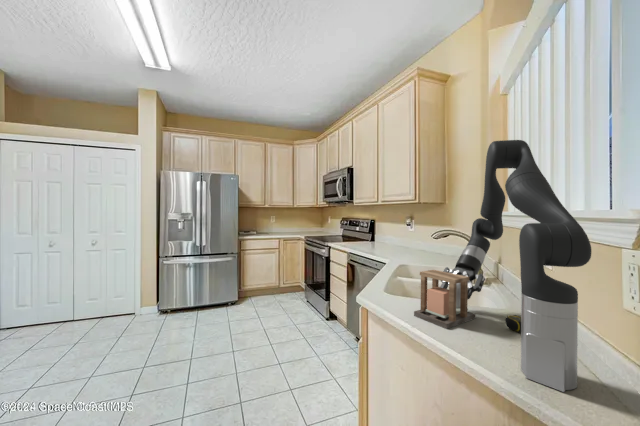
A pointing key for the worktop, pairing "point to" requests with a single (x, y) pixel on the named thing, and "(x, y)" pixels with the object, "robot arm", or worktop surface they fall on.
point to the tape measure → (514, 323)
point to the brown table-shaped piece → (453, 317)
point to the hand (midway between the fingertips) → (452, 295)
